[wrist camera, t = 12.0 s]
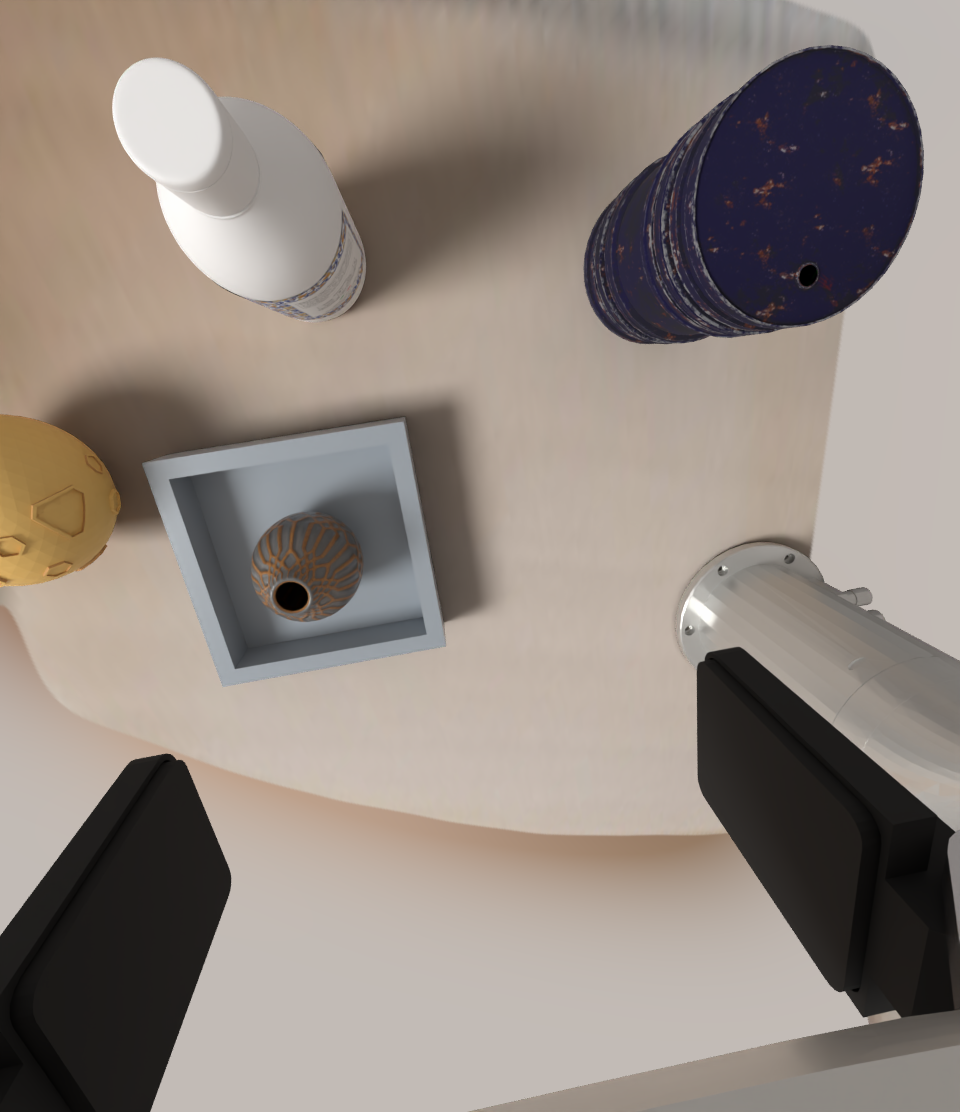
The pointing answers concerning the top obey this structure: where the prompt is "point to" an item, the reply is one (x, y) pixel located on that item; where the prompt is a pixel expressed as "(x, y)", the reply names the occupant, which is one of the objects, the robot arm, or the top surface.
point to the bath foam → (242, 192)
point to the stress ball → (50, 503)
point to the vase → (307, 566)
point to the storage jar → (764, 206)
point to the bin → (287, 488)
